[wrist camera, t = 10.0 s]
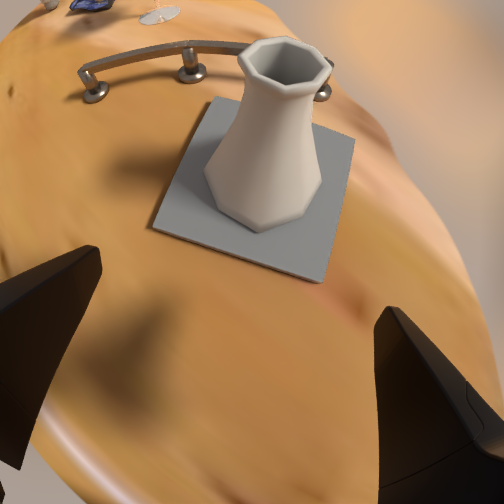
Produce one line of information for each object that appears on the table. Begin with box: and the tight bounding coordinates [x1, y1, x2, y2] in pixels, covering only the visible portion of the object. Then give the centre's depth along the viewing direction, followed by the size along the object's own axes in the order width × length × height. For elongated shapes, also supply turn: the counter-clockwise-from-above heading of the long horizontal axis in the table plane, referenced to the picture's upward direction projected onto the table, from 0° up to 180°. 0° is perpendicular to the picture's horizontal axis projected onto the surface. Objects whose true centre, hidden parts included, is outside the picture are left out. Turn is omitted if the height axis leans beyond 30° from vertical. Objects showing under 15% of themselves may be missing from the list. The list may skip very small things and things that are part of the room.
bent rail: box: [77, 40, 334, 104], centre depth 19 cm, size 4×22×4 cm, turn 88°
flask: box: [203, 36, 333, 233], centre depth 13 cm, size 7×7×10 cm
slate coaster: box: [152, 96, 355, 284], centre depth 18 cm, size 11×11×1 cm
